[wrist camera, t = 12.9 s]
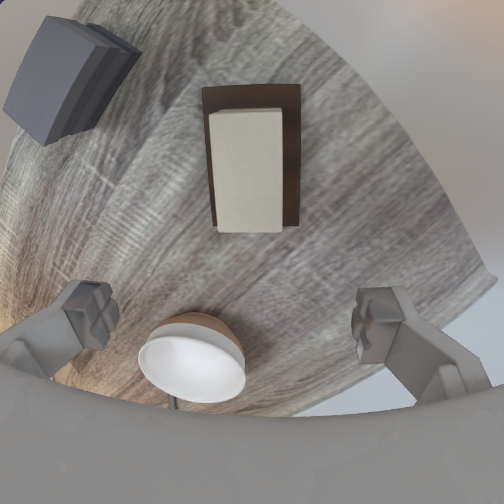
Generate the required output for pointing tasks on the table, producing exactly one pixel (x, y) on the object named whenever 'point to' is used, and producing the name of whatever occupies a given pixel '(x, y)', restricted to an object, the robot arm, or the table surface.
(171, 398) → the pen
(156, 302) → the table surface
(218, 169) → the white book
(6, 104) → the grey books
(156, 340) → the bowl
